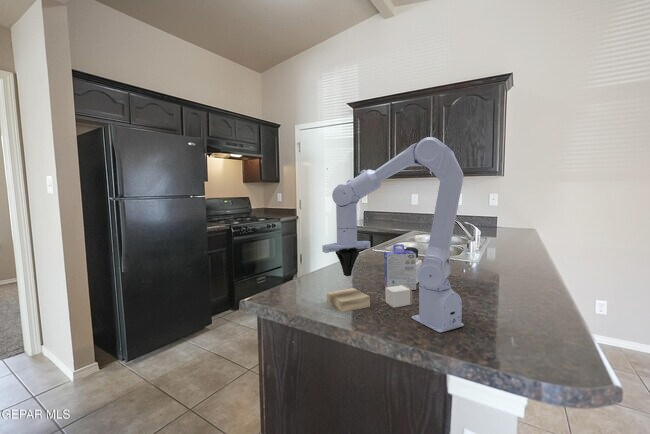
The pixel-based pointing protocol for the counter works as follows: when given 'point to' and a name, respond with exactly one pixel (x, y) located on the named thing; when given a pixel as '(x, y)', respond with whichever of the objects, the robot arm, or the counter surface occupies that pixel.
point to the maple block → (348, 299)
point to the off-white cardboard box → (398, 296)
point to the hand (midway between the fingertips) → (347, 275)
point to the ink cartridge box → (400, 267)
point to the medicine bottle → (418, 262)
